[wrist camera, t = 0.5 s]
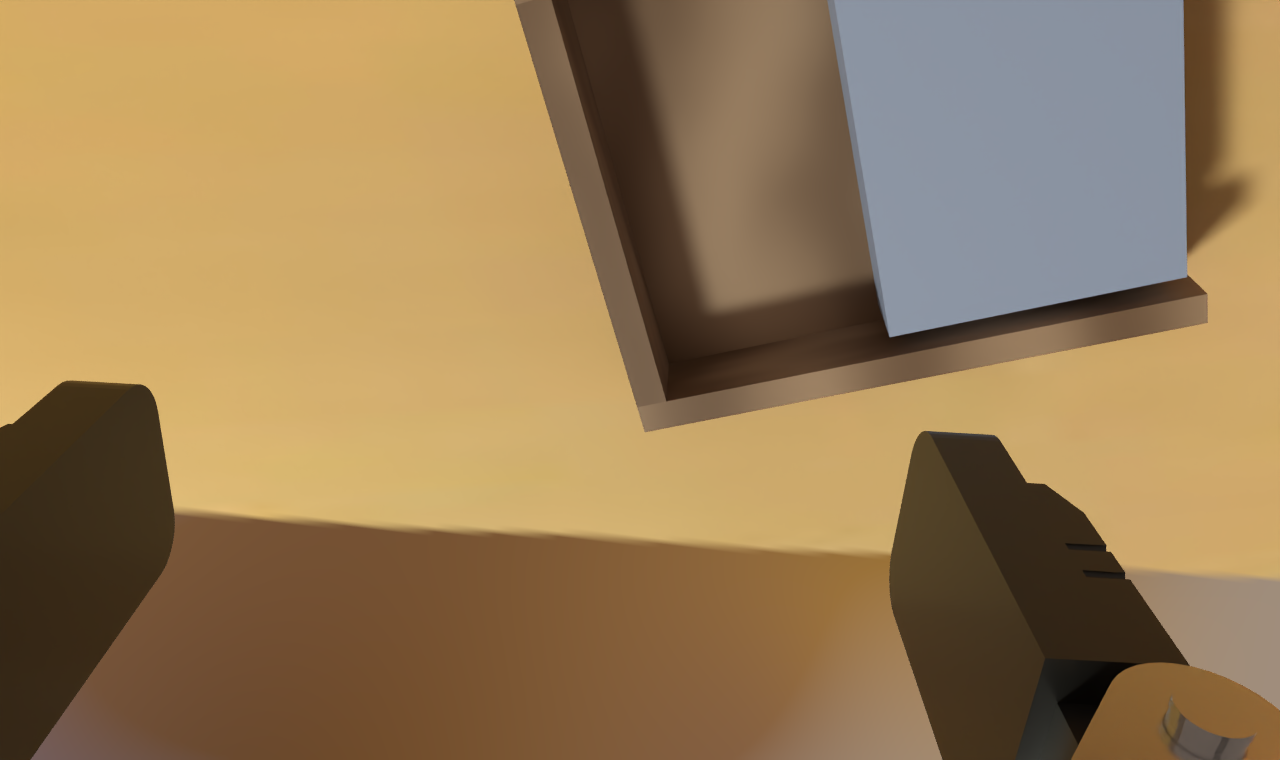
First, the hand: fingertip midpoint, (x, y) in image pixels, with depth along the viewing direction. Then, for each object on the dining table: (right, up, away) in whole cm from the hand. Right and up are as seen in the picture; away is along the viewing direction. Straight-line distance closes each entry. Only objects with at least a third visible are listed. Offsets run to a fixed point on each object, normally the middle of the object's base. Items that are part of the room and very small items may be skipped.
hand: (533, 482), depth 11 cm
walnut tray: (+8, +9, +22) cm, 25 cm away
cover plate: (+12, +10, +21) cm, 26 cm away
